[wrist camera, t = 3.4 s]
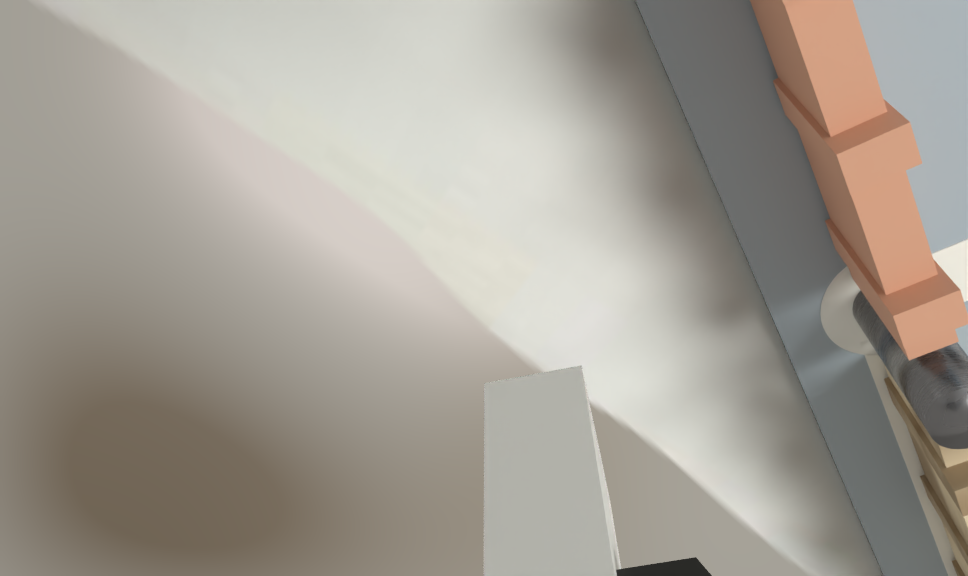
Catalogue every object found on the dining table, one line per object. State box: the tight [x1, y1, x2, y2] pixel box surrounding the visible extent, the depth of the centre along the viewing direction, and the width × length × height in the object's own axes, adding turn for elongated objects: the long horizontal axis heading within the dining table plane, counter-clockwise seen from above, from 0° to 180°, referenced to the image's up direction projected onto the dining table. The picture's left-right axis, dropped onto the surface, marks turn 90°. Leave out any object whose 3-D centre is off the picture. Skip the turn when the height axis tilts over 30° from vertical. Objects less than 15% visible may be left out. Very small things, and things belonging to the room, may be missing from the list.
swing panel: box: [750, 0, 968, 360], centre depth 20 cm, size 12×2×5 cm, turn 28°
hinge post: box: [852, 291, 968, 449], centre depth 24 cm, size 2×2×6 cm
